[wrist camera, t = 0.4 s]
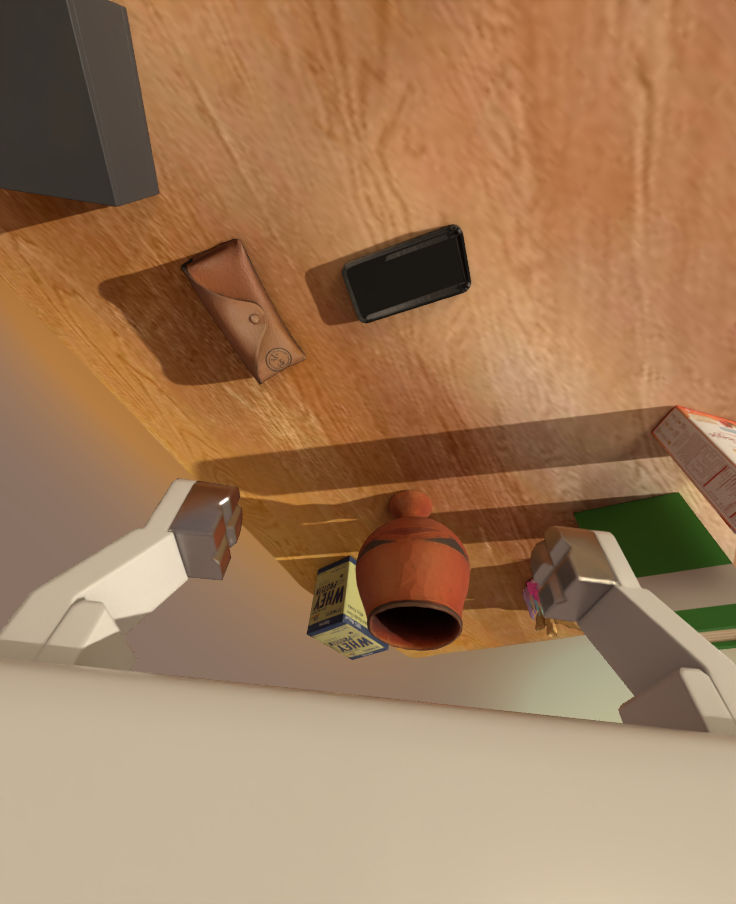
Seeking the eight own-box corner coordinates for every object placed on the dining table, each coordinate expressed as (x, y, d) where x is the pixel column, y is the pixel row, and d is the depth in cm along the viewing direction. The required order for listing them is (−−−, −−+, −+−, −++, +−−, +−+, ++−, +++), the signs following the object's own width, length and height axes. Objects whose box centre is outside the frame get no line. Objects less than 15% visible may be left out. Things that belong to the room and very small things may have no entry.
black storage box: (-21, -19, 36) (-122, -53, 29) (126, 7, 36) (61, -20, 29) (44, 175, 45) (-21, 185, 38) (159, 194, 46) (117, 207, 39)
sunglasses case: (310, 359, 57) (282, 387, 54) (281, 362, 62) (253, 388, 59) (237, 232, 47) (196, 257, 44) (208, 247, 52) (170, 270, 49)
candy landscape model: (615, 610, 98) (632, 648, 91) (517, 611, 101) (526, 648, 94) (647, 549, 82) (671, 589, 75) (530, 552, 85) (542, 591, 78)
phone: (472, 290, 49) (360, 325, 53) (471, 287, 50) (361, 322, 54) (460, 222, 45) (338, 266, 48) (459, 220, 45) (339, 263, 49)
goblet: (416, 452, 69) (423, 579, 49) (479, 508, 77) (506, 636, 58) (341, 501, 78) (323, 624, 59) (405, 546, 86) (407, 668, 67)
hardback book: (576, 535, 80) (629, 658, 62) (574, 513, 76) (630, 637, 58) (675, 517, 75) (764, 645, 57) (678, 492, 71) (776, 621, 53)
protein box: (349, 554, 89) (342, 621, 77) (391, 585, 96) (390, 651, 84) (316, 569, 94) (304, 634, 82) (358, 598, 101) (353, 661, 89)
